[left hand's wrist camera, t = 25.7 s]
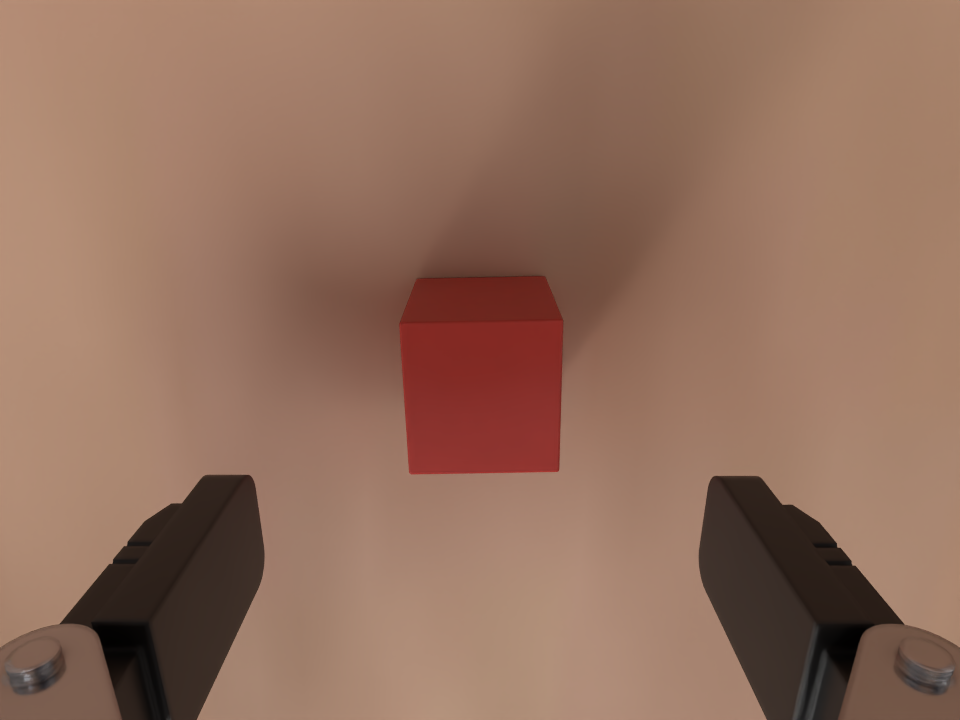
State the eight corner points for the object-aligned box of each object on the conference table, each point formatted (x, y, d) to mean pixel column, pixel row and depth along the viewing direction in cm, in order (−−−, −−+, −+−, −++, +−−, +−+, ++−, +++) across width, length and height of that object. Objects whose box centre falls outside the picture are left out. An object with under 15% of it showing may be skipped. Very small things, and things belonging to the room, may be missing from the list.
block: (545, 275, 20) (563, 319, 16) (543, 401, 22) (559, 473, 18) (415, 278, 21) (398, 322, 16) (422, 403, 22) (409, 475, 18)
